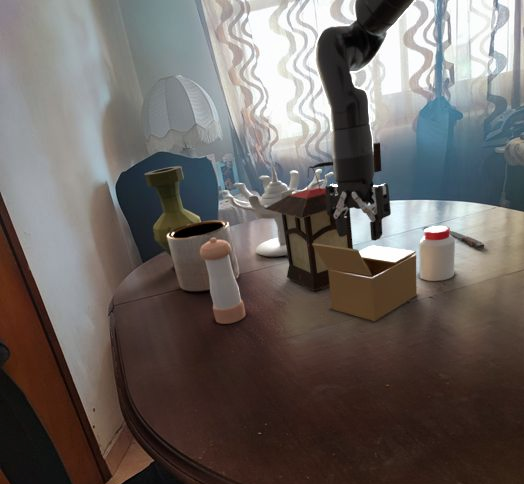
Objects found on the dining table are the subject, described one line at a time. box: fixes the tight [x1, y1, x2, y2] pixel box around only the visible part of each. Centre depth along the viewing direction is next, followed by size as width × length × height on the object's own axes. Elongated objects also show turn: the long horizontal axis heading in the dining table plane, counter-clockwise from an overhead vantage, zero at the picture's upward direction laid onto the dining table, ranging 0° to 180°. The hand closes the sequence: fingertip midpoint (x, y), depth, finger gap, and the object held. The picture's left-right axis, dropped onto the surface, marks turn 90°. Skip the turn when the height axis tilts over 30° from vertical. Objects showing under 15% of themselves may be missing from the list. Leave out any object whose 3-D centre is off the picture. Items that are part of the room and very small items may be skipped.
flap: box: [312, 243, 372, 276], centre depth 92 cm, size 7×12×1 cm
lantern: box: [265, 142, 382, 292], centre depth 116 cm, size 18×26×30 cm
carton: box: [328, 244, 418, 322], centre depth 101 cm, size 15×12×10 cm
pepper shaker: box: [200, 238, 246, 325], centre depth 105 cm, size 7×7×19 cm
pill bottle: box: [418, 225, 456, 282], centre depth 108 cm, size 8×8×11 cm
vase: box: [144, 165, 202, 271], centre depth 146 cm, size 16×16×30 cm
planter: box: [167, 219, 240, 293], centre depth 131 cm, size 18×18×16 cm
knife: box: [424, 226, 485, 249], centre depth 132 cm, size 28×1×5 cm
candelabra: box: [219, 162, 334, 258], centre depth 144 cm, size 34×35×27 cm
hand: (359, 237), depth 94 cm, fingers open, 8 cm apart
